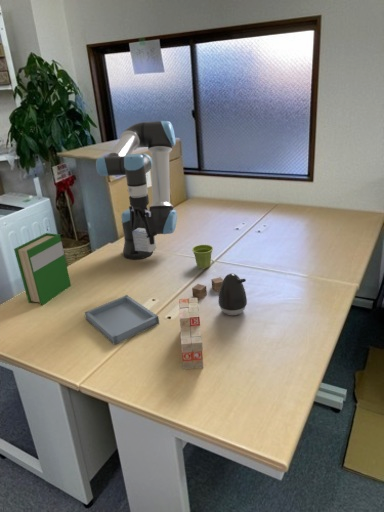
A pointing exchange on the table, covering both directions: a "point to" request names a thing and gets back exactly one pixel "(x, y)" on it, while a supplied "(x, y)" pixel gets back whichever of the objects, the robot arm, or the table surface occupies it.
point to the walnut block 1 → (199, 291)
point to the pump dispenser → (232, 295)
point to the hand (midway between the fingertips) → (145, 247)
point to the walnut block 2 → (217, 283)
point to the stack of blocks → (190, 333)
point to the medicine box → (141, 240)
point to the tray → (121, 319)
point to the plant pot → (203, 255)
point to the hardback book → (43, 268)
